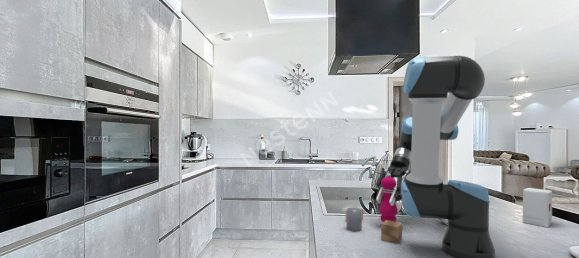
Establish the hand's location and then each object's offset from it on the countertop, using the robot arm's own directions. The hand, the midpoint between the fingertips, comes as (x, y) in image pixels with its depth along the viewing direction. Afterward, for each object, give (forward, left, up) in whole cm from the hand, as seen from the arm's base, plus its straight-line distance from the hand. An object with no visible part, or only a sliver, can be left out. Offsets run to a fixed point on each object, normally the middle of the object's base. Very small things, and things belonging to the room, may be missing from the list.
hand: (384, 202), depth 119 cm
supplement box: (-44, -58, -11) cm, 74 cm away
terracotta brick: (+15, -1, -11) cm, 19 cm away
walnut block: (-7, +9, -11) cm, 16 cm away
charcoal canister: (+9, +9, -11) cm, 17 cm away
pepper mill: (0, -4, -9) cm, 9 cm away
